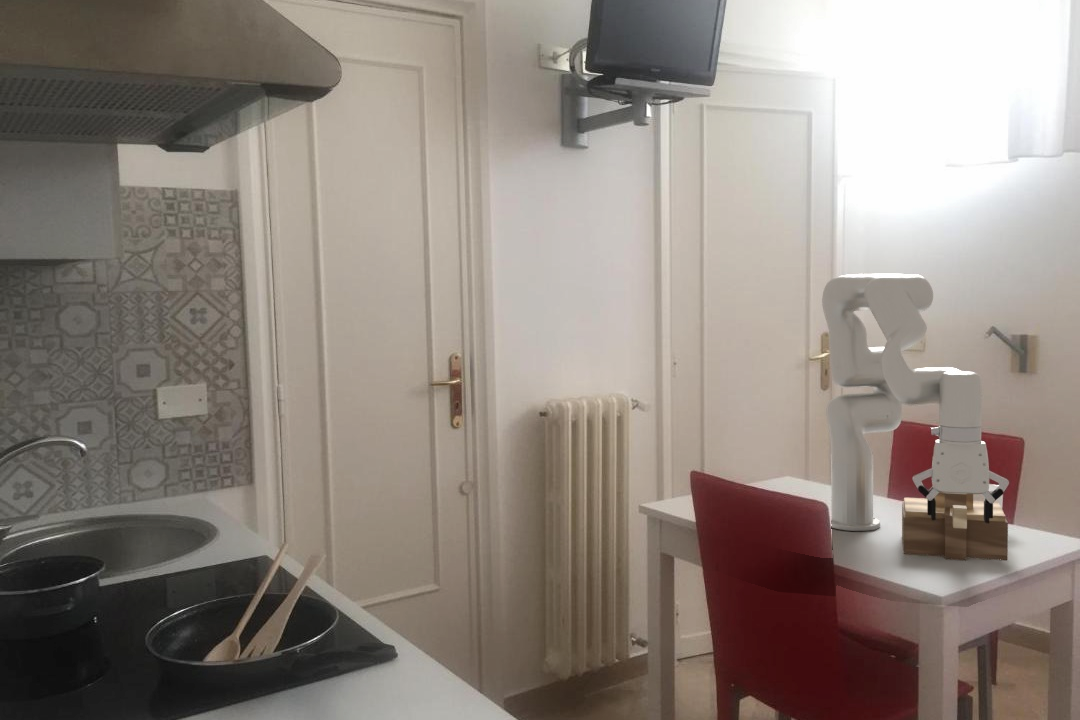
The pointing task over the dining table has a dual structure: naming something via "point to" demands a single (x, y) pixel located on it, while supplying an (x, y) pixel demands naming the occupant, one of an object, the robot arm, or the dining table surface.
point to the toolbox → (954, 535)
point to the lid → (951, 508)
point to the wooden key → (959, 516)
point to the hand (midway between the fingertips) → (959, 520)
